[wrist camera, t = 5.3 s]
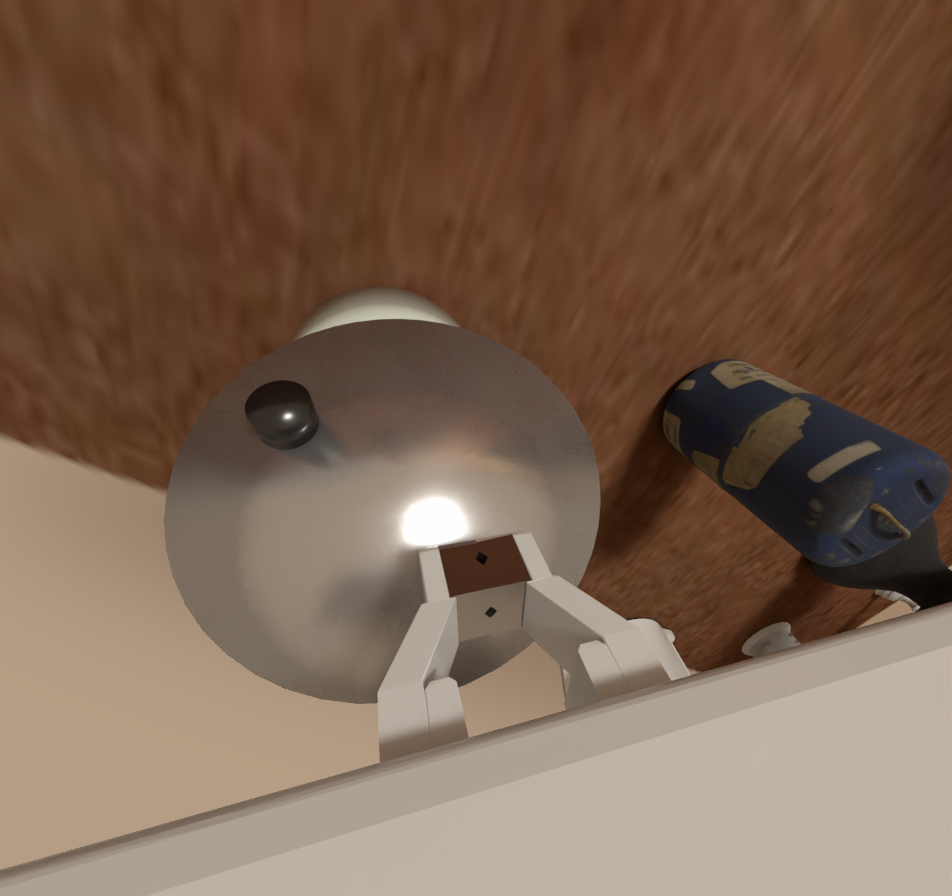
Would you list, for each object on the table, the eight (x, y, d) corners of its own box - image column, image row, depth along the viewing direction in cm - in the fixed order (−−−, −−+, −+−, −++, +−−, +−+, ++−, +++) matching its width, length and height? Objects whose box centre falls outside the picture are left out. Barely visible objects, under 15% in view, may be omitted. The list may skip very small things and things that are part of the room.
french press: (796, 615, 72) (967, 784, 52) (780, 648, 79) (924, 809, 59) (747, 633, 72) (901, 812, 51) (734, 665, 78) (866, 834, 58)
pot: (499, 446, 36) (540, 525, 28) (282, 477, 32) (258, 576, 24) (504, 279, 28) (564, 320, 20) (221, 294, 25) (155, 352, 17)
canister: (673, 459, 42) (839, 607, 28) (639, 401, 37) (822, 546, 23) (755, 400, 41) (978, 525, 26) (732, 331, 35) (995, 439, 21)
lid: (656, 638, 13) (696, 627, 11) (142, 770, 10) (75, 787, 8) (528, 325, 19) (539, 285, 18) (207, 350, 17) (179, 307, 15)
